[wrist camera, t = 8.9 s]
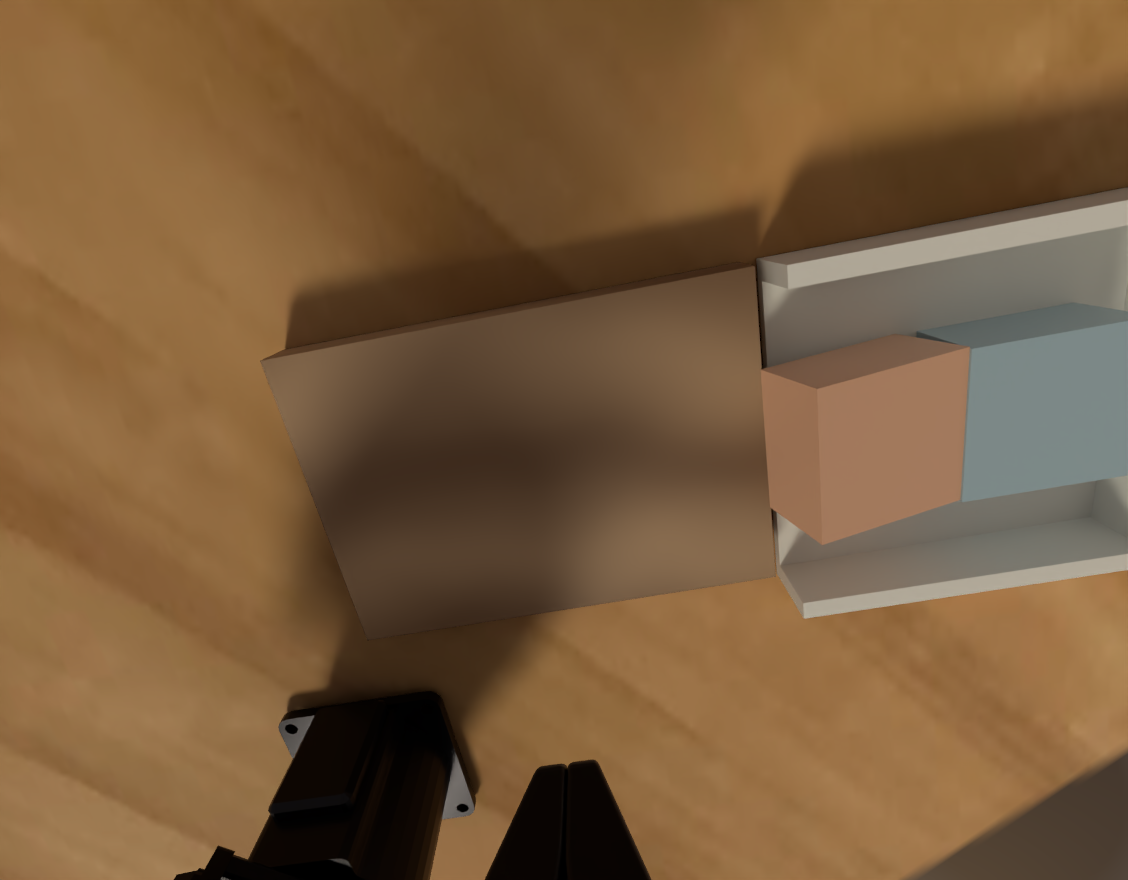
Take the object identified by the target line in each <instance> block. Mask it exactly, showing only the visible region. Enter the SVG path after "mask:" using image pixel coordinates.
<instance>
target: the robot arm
mask: <svg viewBox="0 0 1128 880" xmlns="http://www.w3.org/2000/svg"><path fill="white" fill-rule="evenodd" d="M425 704H429V705H431V706H427V705H425ZM279 731H280V733H281V735H282V737H283V739H284V742H285V744H286V746H287V748H288V750H289V752H290V754H291V756H292V758H293V760H292V762H291V764H290V766H289V768H288V770H287V772H286V774H285V776H284V778H283V780H282V782H281V784H280V786H279V788H278V790H277V792H276V794H275V796H274V798H273V800H272V802H271V804H270V806H269V810H268V811H269V813H270V816H269V818H268V820H267V822H266V824H265V826H264V828H263V830H262V832H261V834H260V836H259V838H258V840H257V842H256V844H255V846H254V848H253V850H252V852H251V854H250V856H249V858H248V859H245V858H242V857H239V856H236V855H233V854H234V852H235V851H233V850H230V849H227V848H224V847H221V846H218V847H217V849H216V850H215V852H214V854H213V856H212V857H211V859H210V861H209V863H208V864H207V866H206V868H205V870H204V869H201V868H199V869H198V870H197V871H192V872H187V873H183V874H178V875H176V877H175V879H174V880H430V875H431V870H432V865H433V860H434V855H435V850H436V846H437V841H438V836H439V831H440V826H441V821H442V819H449V818H456V817H464V816H468V815H470V814H472V813H473V812H474V809H475V803H476V797H475V794H474V791H473V788H472V786H471V783H470V780H469V777H468V774H467V771H466V768H465V765H464V762H463V759H462V756H461V753H460V750H459V748H458V745H457V742H456V739H455V736H454V733H453V730H452V727H451V724H450V721H449V718H448V715H447V713H446V710H445V707H444V704H443V701H442V699H441V697H440V696H439V695H438V694H437V693H435V692H432V691H425V692H418V693H412V694H405V695H398V696H392V697H385V698H378V699H371V700H365V701H358V702H351V703H344V704H338V705H331V706H324V707H318V708H311V709H304V710H297V711H291V712H288V713H286V714H285V715H284V717H283V719H282V720H281V722H280V724H279ZM485 880H651V878H650V875H649V873H648V871H647V869H646V867H645V864H644V862H643V860H642V858H641V856H640V853H639V851H638V849H637V847H636V845H635V842H634V840H633V838H632V836H631V834H630V831H629V829H628V827H627V825H626V823H625V820H624V818H623V816H622V814H621V812H620V809H619V807H618V805H617V803H616V801H615V798H614V796H613V794H612V792H611V790H610V787H609V785H608V783H607V781H606V779H605V776H604V774H603V772H602V770H601V768H600V766H599V764H598V762H597V761H596V760H585V761H578V762H572V763H570V764H569V766H568V767H567V766H566V765H565V764H555V765H548V766H541V767H539V768H538V769H537V770H536V771H535V773H534V775H533V777H532V779H531V781H530V784H529V786H528V788H527V790H526V792H525V794H524V796H523V799H522V801H521V803H520V805H519V807H518V809H517V812H516V814H515V816H514V818H513V820H512V822H511V824H510V827H509V829H508V831H507V833H506V835H505V837H504V839H503V842H502V844H501V846H500V848H499V850H498V852H497V854H496V857H495V859H494V861H493V863H492V865H491V867H490V869H489V872H488V874H487V876H486V878H485Z"/></svg>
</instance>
